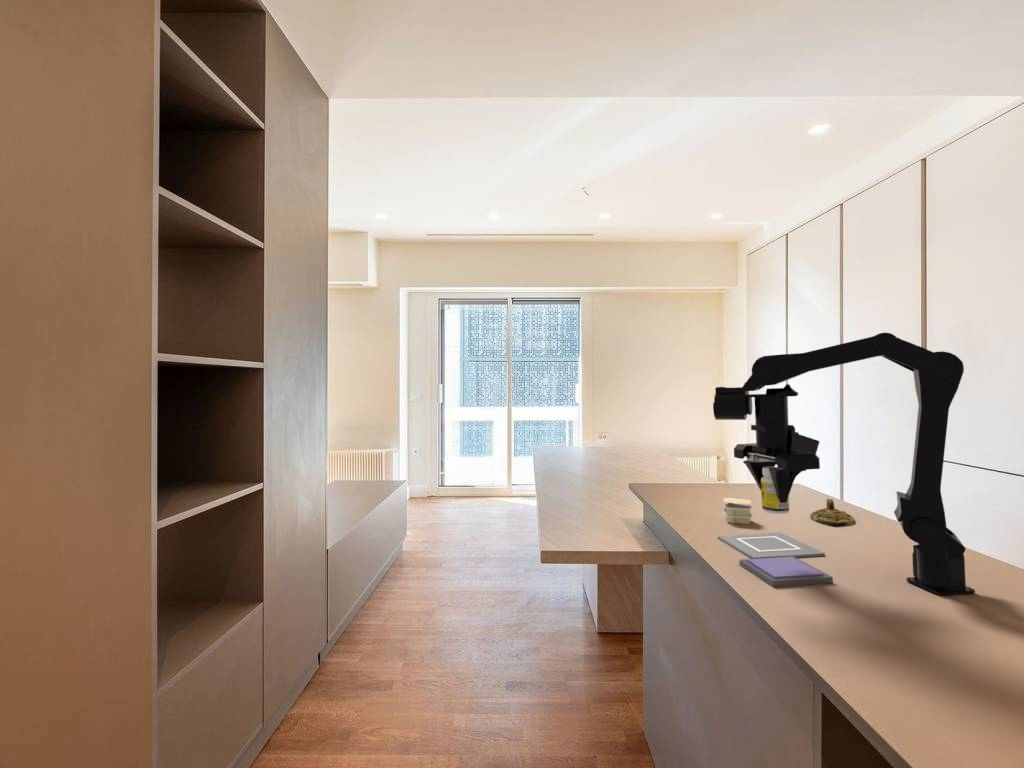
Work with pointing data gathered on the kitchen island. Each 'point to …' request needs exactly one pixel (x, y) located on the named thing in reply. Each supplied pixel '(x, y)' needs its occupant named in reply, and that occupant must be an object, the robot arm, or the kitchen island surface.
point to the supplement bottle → (771, 495)
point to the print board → (769, 545)
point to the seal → (832, 516)
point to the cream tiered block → (737, 510)
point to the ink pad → (785, 571)
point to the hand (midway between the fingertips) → (774, 499)
